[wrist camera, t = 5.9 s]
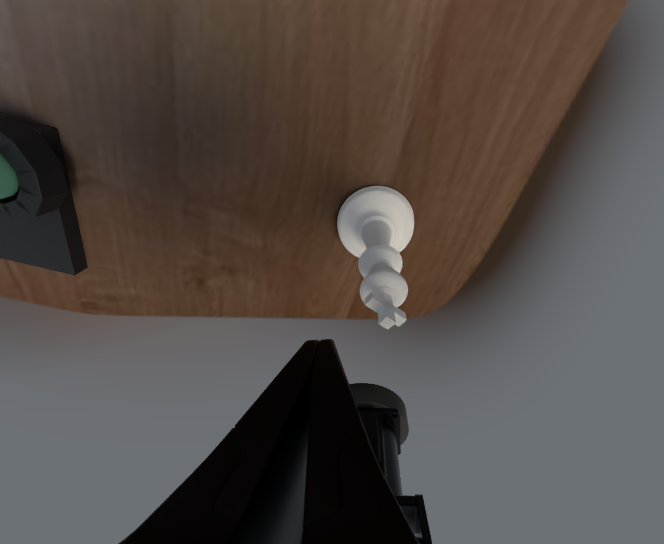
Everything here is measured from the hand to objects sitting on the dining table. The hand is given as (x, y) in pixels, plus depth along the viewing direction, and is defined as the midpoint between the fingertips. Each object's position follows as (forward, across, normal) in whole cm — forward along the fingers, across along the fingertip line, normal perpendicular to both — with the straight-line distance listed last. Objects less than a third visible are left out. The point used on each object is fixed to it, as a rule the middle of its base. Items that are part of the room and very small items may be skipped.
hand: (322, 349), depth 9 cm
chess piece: (+12, -2, 0) cm, 12 cm away
